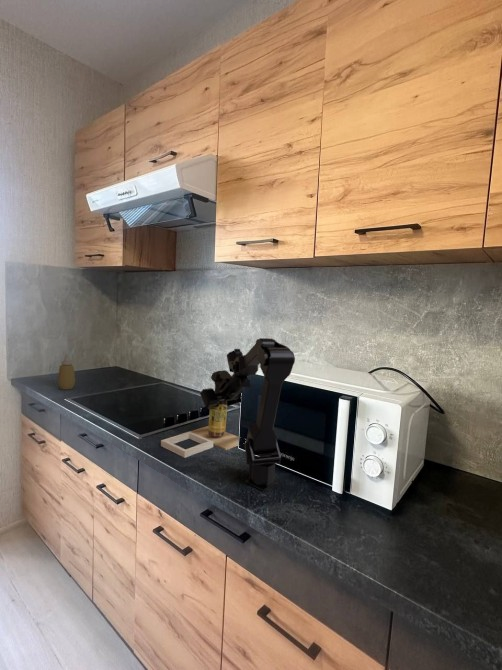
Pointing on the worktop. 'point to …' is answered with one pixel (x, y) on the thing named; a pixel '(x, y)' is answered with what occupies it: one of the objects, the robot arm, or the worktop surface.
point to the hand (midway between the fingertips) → (216, 407)
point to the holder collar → (184, 453)
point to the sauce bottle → (218, 417)
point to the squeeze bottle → (66, 374)
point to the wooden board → (218, 438)
